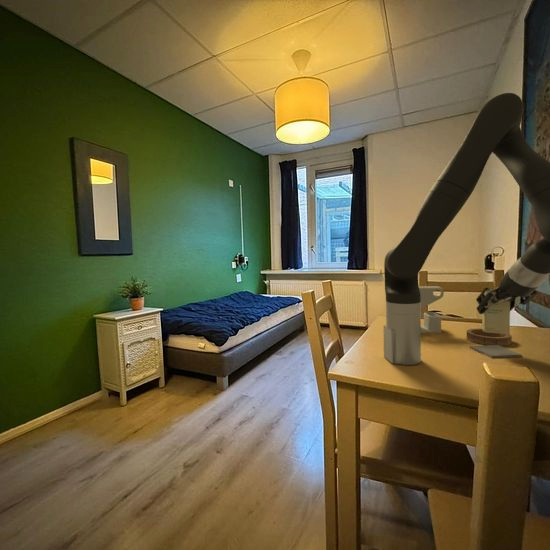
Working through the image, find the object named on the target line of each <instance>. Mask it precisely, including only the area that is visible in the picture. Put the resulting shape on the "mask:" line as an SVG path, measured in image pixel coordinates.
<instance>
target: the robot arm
mask: <svg viewBox="0 0 550 550" xmlns="http://www.w3.org/2000/svg"><path fill="white" fill-rule="evenodd" d="M523 116H524V102H523V100H522V98H521V97H520V96H519V94H516V93H513V92H504V93H501V94H498V95H495V96H494V97H492V98H491V99H490V100H488V101H487V102H485V104H483V105H482V107H481V108H480V110H479V112H478V113H477V115H476V117H475V118H474V121H473V123H472V125H471V126H470V128H469V130H468V132H467V134H466V135H465V138H464V140H463V141H462V143H461V145H460V146H459V148H458V149H457V151H456V152H455V153H454V155H452V158H451V159H450V160H449V161H448V163H447V165H446V166H445V168H444V169H443V170H442V172H441V173H440V175H439V176H438V178H437V179H436V181H435V182H434V184H433V185H432V186H431V188H430V190H429V191H428V193H427V194H426V196H425V198H424V200H423V202H422V204H421V206H420V208H419V210H418V213H417V216H416V218H415V220H414V222H413V224H412V225H411V227H410V228H409V230H408V231H407V233H406V234H405V236H404V237H403V238H402V239H401V240H400V242H399V243H398V244H397V245H396V246H395V247H393V248H391V249H390V250H389V251H388V252H387V253H386V255H385V257H384V265H383V267H384V272H383V273H384V293H385V325H383V357H384V358H385V359H387V361H389V362H390V363H391V364H396V365H405V366H414V365H419V364H420V363H421V361H422V353H421V351H422V349H421V347H422V343H421V342H422V337H421V336H422V335H421V334H422V333H421V325H422V324H421V323H422V322H421V319H422V312H421V294H420V290H419V286H420V285H419V273H420V271H421V270H422V269H423V267H424V265H425V263H426V261H427V259H428V257H429V255H430V254H431V252H432V250H433V248H434V246H435V244H436V243H437V242H438V240H439V238H440V237H441V235H443V233H445V230H447V228H448V227H449V225H450V224H451V223H452V222H453V220H454V219H455V218H456V216H457V215H458V214H459V212H460V211H461V209H462V208H463V207H464V205H466V203H467V201H468V200H469V198H470V196H471V195H472V193H473V192H474V190H475V189H476V186H477V185H478V182H479V180H480V178H481V176H482V174H483V171H484V169H485V166H486V165H487V162H488V160H489V158H490V157H491V155H492V154H493V155H495V156H496V157H497V158H498V160H499V161H500V162H501V163H502V164H503V165H504V167H505V168H506V170H507V171H508V172H509V174H511V177H513V179H514V181H515V182H516V183H517V185H518V187H519V189H520V190H521V191H522V193H523V194H524V195H525V197H526V199H527V201H528V202H529V203H530V204H531V206H532V209H533V215H534V217H535V221H536V226H537V228H538V231H539V233H540V235H541V237H542V238H541V239H539V240H537V241H535V242H533V243H532V244H531V245H530V246H528V248H527V249H526V251H525V252H524V253H523V254H522V255H521V257H519V258H518V259H517V260H516V261H515V262H514V263H513V264H512V265H511V266H510V268H508V270H507V271H506V272H505V273H504V275H503V276H502V277H501V278H500V281H499V286H497V287H496V288H494V289H490V288H489V287H485V288H484V289H483V290H482V292H481V293H480V294H479V295H478V296H477V298H476V299H475V301H476V302H477V303H478V306H477V307H476V310H477V312H478V314H479V315H482V314H483V313H484V312H485V311H486V310H487V309H488V308H489V307H490V306H492V305H494V304H495V305H497V304H499V303H501V302H503V301H510V312H511V311H512V310H514V308H516V307H518V306H520V305H522V306H524V305H525V306H526V305H527V304H528V303H529V302H531V300H532V299H534V297H536V295H538V294H539V292H538V291H537V289H538V287H540V286H541V284H543V283H544V282H545V281H546V280H547V279H548V277H549V276H550V161H549V160H548V159H546V158H545V157H543V156H542V155H541V154H539V153H538V152H536V151H535V150H534V149H533V148H532V147H531V146H530V145H529V143H528V142H527V139H525V137H524V134H523V132H522V131H523V130H522V129H521V127H520V126H521V123H522V120H523ZM494 295H495V296H496V298H497V299H498V300H497V301H496V300H495V299H494V297H493V296H494ZM489 300H491V302H490V303H488V301H489Z"/></svg>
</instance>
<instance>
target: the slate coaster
mask: <svg viewBox="0 0 550 550" xmlns="http://www.w3.org/2000/svg"><path fill="white" fill-rule="evenodd" d="M469 348H470V349H471V348H472V350H473V349H474V350H473V351H476V352H477V353H480V352H481V353H480V354H482V353H483V354H482V355H484V354H486V355H488V356H490V357H495V358H517V357H518V358H521V357H523V354H522V353H519V352H517V351H515V350H514V351H513V350H511V349H509V348H507V347H504V346H499V345H485V344H483V345H470V346H469ZM486 355H485V356H486ZM488 356H487V357H488ZM490 357H489V358H490Z"/></svg>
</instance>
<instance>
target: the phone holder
mask: <svg viewBox="0 0 550 550" xmlns="http://www.w3.org/2000/svg"><path fill="white" fill-rule="evenodd" d="M419 290H420V294H421V313H422V311H423V309H424V308H425V307H427V306H430V305H431V304H434V303H435V302H437V301H439V300H441V299H442V298H443V297H444V293H445V291H444V290H443V288H442V287H441V286H437V285H434V286H433V285H427V286H425V285H424V286H423V285H422V286H420V285H419ZM437 290H438V291H440V293H438V294H437V295H435V294H434V292H436V291H437ZM441 333H443V331H442V315H440V314H439V313H437V312H433V311H425V312H424V313H423V324H421V334H441Z"/></svg>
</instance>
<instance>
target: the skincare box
mask: <svg viewBox="0 0 550 550" xmlns="http://www.w3.org/2000/svg"><path fill="white" fill-rule="evenodd" d="M493 297H494V299H495V300H496V301H497V300H498V299H497V298H496V296H495V295H494V296H493ZM490 302H491V300H489V301H488V303H490ZM481 315H482V317H481V318H482V319H481V320H482V321H481V322H482V323H481V329H483V331H484V332H490V333H501V334H511V332H510V331H511V330H510V322H511V321H510V320H511V316H510V315H511V311H510V301H503V302H501V303H499V304H497V305H495V304H494V305H492V306H490V307H489V308H488V309H487V310H486V311H485V312H484V313H483V314H481Z"/></svg>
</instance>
